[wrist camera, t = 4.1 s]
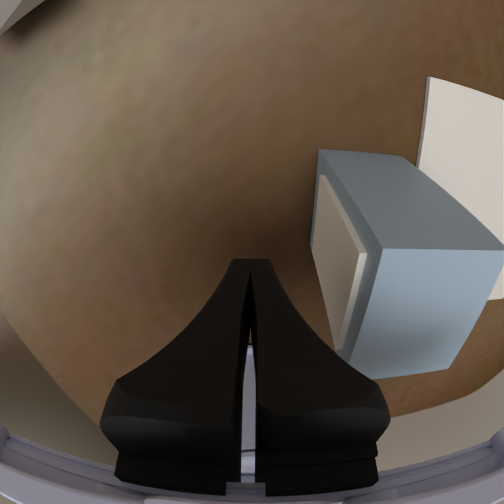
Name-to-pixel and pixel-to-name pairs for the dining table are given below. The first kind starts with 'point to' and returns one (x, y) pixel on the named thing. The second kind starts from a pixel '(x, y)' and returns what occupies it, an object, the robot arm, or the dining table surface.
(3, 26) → the die
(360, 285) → the block
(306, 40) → the dining table surface
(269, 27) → the dining table surface
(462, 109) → the mat
